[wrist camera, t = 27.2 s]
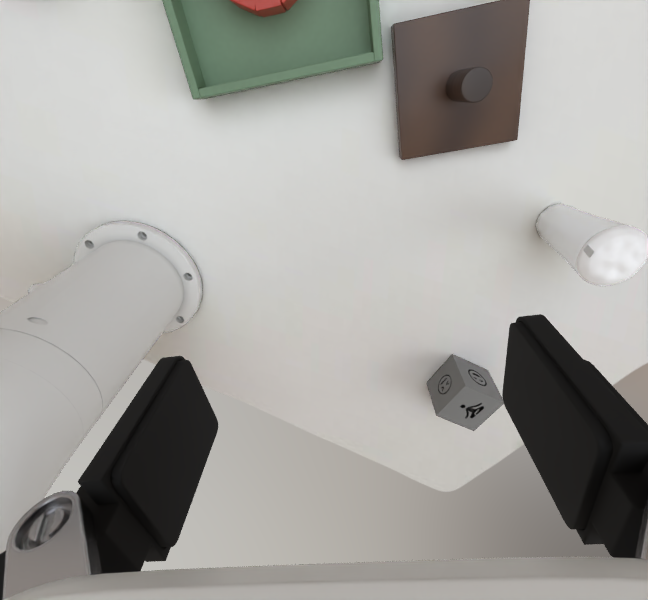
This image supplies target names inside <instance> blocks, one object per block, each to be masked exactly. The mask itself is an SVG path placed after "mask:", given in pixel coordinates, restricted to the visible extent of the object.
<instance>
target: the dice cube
mask: <svg viewBox="0 0 648 600" xmlns="http://www.w3.org/2000/svg"><path fill="white" fill-rule="evenodd" d="M427 386H428V389H429V393H430V396H431V399H432V403H433V406H434V410H435V413H436V416H438V417H441V418H443V419H446V420H448V421H451V422H453V423H455V424H458V425H460V426H463V427H465V428H468V429H470V430H473V431H474V430H475V429H477V428H478V427H479V426H480V425H481V424H482V423H483V422H484V421H485V420H486V419H488V418H489V417H490V416H491V415H492V414H493V413H494V412H495V411H496V410H497V409H499V408H500V407H501V406H502V405H503V404H504V401H503V399H502V397H501V395H500V393H499V391H498V389H497V387H496V385H495V383H494V381H493V379H492V377H491V376H490V374H489V372H488V370H486V369H484V368H482V367H479V366H477V365H475V364H473V363H471V362H468V361H466V360H464V359H462V358H460V357H457V356H455V355H453V354H452V355H451V356H450V357H449V359H448V360H447V361H446V362H445V363H444V364H443V365H442V366H441V367H440V369H439V370H438V371H437V372H436V373H435V374H434V375H433V376H432V377H431V379H430V380H429V381H428V382H427Z"/></svg>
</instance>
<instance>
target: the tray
mask: <svg viewBox="0 0 648 600" xmlns="http://www.w3.org/2000/svg"><path fill="white" fill-rule="evenodd" d="M162 1H163V4H164V7H165V11H166V14H167V17H168V20H169V23H170V27H171V30H172V33H173V36H174V39H175V42H176V46H177V49H178V52H179V55H180V58H181V62H182V65H183V68H184V71H185V74H186V78H187V81H188V84H189V87H190V90H191V94H192V97H193V99H206V98H211V97H216V96H221V95H225V94H230V93H235V92H240V91H244V90H249V89H254V88H259V87H264V86H268V85H273V84H278V83H283V82H288V81H292V80H297V79H302V78H307V77H312V76H316V75H321V74H326V73H331V72H336V71H340V70H345V69H350V68H355V67H360V66H364V65H369V64H374V63H379V62H380V61H382V60H383V51H382V38H381V25H380V12H379V0H297V1H296V2H295V3H294V5H293V6H292V7H291V8H290V9H289V10H286V12H285V13H281V14H276V15H272V16H268V17H262V16H261V17H259V16H257V15H255V14H252V13H250V12H248V11H246V10H243V9H241V8H239V7H238V6H237V5H235V4H234V3H233V2H231V1H230V0H162Z"/></svg>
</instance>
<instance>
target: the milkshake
mask: <svg viewBox="0 0 648 600" xmlns="http://www.w3.org/2000/svg"><path fill="white" fill-rule="evenodd" d="M536 229H537V231H538V233H539V235H540V236H541V237H542V238H543V239H544V240H545V241H546V242H547V243H548V244H549V245H550V246H551V247H552V248H553V249H554V250H555V251H556V252H557V253H558V254H559V255H560V256H561V257H562V258H563V259H564V260H565V261H566V262H567V263H568V264H569V265H570V266H571V267H572V268H573V269H574V270H575V271H576V272H577V273H578V275H579V276H580V277H581V278H582V279H583V280H585V281H586V282H588V283H591V284H594V285H598V286H611V285H615V284H617V283H620V282H622V281H625V280H627V279H629V278H631V277H632V276H634V275H635V274H636V273H637V271H638V270H639V269H640V268H641V267H642V266H643V265H644V264H645V262H646V260H647V257H648V236H647V235H646V234H645V233H644V232H643V231H642V230H640V229H638V228H636V227H633V226H629V225H626V224H623V223H620V222H617V221H613V220H610V219H606V218H603V217H599V216H596V215H593V214H590V213H587V212H584V211H582V210H579V209H576V208H573V207H571V206H568V205H565V204H562V203H560V204H556V205H552V206H549V207H547V208H546V209H545V210H544V211H543V212H542V213H541V214H540V215H539V217H538V220H537V223H536Z"/></svg>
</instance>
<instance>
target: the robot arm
mask: <svg viewBox="0 0 648 600" xmlns="http://www.w3.org/2000/svg"><path fill="white" fill-rule="evenodd" d="M201 299H202V283H201V278H200V275H199V272H198V269H197V267H196V265H195V264H194V262H193V260H192V258H191V257H190V256H189V255H188V253H187V252H186V251H185V249H184V248H183V247H181V246H180V245H179V244H178V243H177V242H176V241H175V240H174V239H172V238H171V237H169V236H168V235H166V234H165V233H164V232H162V231H160V230H157V229H155V228H153V227H151V226H148V225H145V224H141V223H138V222H130V221H116V222H110V223H107V224H103V225H101V226H99V227H97V228H95V229H93V230H92V231H90V232H89V233H88V234H86V235H85V236H84V237H83V238H82V240H81V241H80V242H79V244H78V246H77V248H76V251H75V254H74V262H73V265H72V266H70V267H69V268H67V269H66V270H64V271H63V272H61V273H59V274H58V275H56V276H55V277H53V278H52V279H50V280H49V281H47V282H46V283H39V284H33V285H32V286H30V288H29V290H28V294H27V295H26V296H24V297H23V298H21V299H20V300H18V301H17V302H15V303H13V304H12V305H10V306H9V307H7V308H6V309H4V310H3V311H1V312H0V600H648V425H647V423H646V422H645V421H644V420H643V419H642V418H641V417H640V416H639V415H638V414H637V412H636V411H635V410H634V409H633V408H632V407H631V406H630V405H629V404H628V403H627V402H626V401H625V399H624V398H623V397H622V396H621V395H620V394H619V393H618V392H617V391H616V390H615V388H614V387H613V386H612V385H611V384H610V383H609V382H608V381H607V380H606V379H605V377H604V376H603V375H602V374H601V373H600V372H599V371H598V370H597V369H596V368H595V366H594V365H592V364H591V363H590V362H589V361H586V360H583V359H582V358H581V356H580V355H579V354H578V353H577V352H576V351H575V350H574V349H573V348H572V346H571V345H570V344H569V343H568V342H567V341H566V340H565V339H564V337H563V336H562V335H561V334H560V333H559V332H558V331H557V330H556V329H555V327H554V326H553V325H552V324H551V323H550V322H549V321H548V320H547V318H546V317H545V316H543V315H532V316H523V317H518V318H517V320H516V323H511V325H510V328H509V338H508V347H507V357H506V366H505V375H504V385H503V401H504V405H505V407H506V409H507V411H508V413H509V415H510V417H511V419H512V421H513V423H514V425H515V426H516V428H517V430H518V432H519V434H520V436H521V438H522V440H523V442H524V444H525V446H526V448H527V450H528V452H529V454H530V456H531V457H532V459H533V461H534V463H535V465H536V467H537V469H538V471H539V473H540V475H541V477H542V479H543V481H544V483H545V485H546V487H547V489H548V490H549V492H550V494H551V496H552V498H553V500H554V502H555V504H556V506H557V508H558V510H559V512H560V514H561V515H562V518H563V520H564V521H565V523H566V524H567V526H568V527H569V528H570V529H576V530H577V532H578V534H579V535H580V537H581V539H582V541H583V543H584V544H585V545H586V544H604V545H605V547H606V548H607V550H608V552H609V554H610V555H611V556H612V557H614V558H612V557H611V558H609V557H533V558H532V557H530V558H529V557H528V558H527V557H526V558H484V559H450V560H418V561H385V562H357V563H329V564H300V565H273V566H248V567H224V568H200V569H175V570H155V571H141V568H142V566H143V563H144V561H147V562H149V561H166V558H167V555H168V553H169V550H170V548H171V547H173V546H174V545H175V544H176V542H177V540H178V538H179V535H180V533H181V530H182V527H183V524H184V522H185V519H186V516H187V513H188V511H189V508H190V505H191V502H192V500H193V497H194V494H195V491H196V489H197V486H198V483H199V480H200V478H201V475H202V472H203V469H204V467H205V464H206V461H207V458H208V455H209V453H210V450H211V447H212V445H213V442H214V439H215V436H216V434H217V430H218V421H217V418H216V416H215V414H214V412H213V410H212V408H211V405H210V403H209V401H208V399H207V397H206V395H205V392H204V390H203V389H202V386H201V384H200V382H199V380H198V377H197V375H196V373H195V371H194V369H193V367H192V365H191V363H190V361H188V360H185V359H184V358H183V357H182V356H175V357H166V358H162V359H160V360H159V362H158V363H157V365H156V366H155V368H154V369H153V371H152V372H151V374H150V375H149V377H148V378H147V379H146V381H145V382H144V384H143V386H142V387H141V389H140V390H139V391H138V393H137V394H136V396H135V397H134V399H133V400H132V402H131V403H130V405H129V406H128V408H127V409H126V411H125V412H124V414H123V415H122V417H121V418H120V420H119V421H118V423H117V424H116V426H115V427H114V429H113V431H111V433H110V435H109V436H108V437H107V439H106V440H105V442H104V444H103V445H102V446H101V448H100V449H99V451H98V452H97V454H96V455H95V457H94V459H93V460H92V461H91V463H90V464H89V466H88V467H87V469H86V470H85V472H84V473H83V475H82V476H81V478H80V479H79V481H78V483H79V484H80V485H81V487H80V488H79V490H78V491H77V493H74V492H73V491H62V492H58V493H54V494H53V495H51V496H48V497H46V498H44V497H45V496H46V494H47V492H48V491H49V489H50V488H51V486H52V485H53V483H54V482H55V480H56V478H57V477H58V475H59V474H60V472H61V471H62V469H63V468H64V466H65V465H66V463H67V462H68V460H69V459H70V457H71V456H72V455H73V453H74V452H75V451H76V449H77V448H78V446H79V445H80V443H81V442H82V441H83V439H84V438H85V437H86V435H87V434H88V433H89V431H90V430H91V428H92V427H93V426H94V424H95V423H96V422H97V421H98V419H99V418H100V416H101V415H102V414H103V413H104V411H105V410H106V408H107V407H108V406H109V404H110V403H111V402H112V400H113V399H114V398H115V396H116V395H117V394H118V392H119V391H120V389H121V388H122V387H123V385H124V384H125V383H126V381H127V380H128V379H129V377H130V376H131V375H132V373H133V372H134V370H135V369H136V368H137V366H138V365H139V363H140V362H141V361H142V360H143V358H144V357H145V356H146V354H147V353H148V351H149V350H150V349H151V347H152V346H153V345H154V343H155V342H156V341H157V339H158V338H159V337H160V335H161V334H163V333H167V332H172V331H174V330H177V329H179V328H181V327H182V326H184V325H185V324H187V323H188V322H189V321H190V319H191V318H192V317H193V316H194V314H195V313H196V311H197V310H198V308H199V305H200V302H201Z"/></svg>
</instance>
